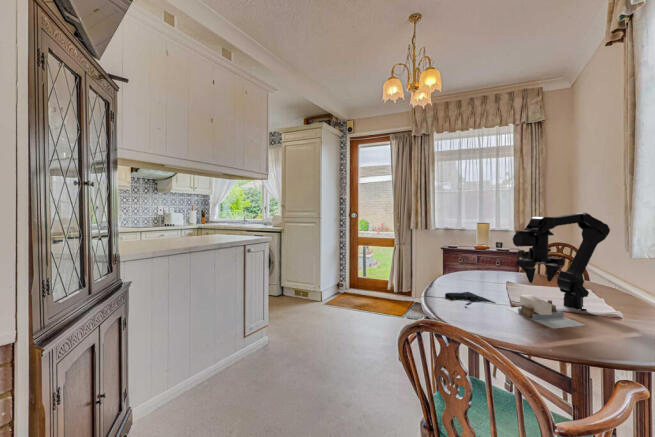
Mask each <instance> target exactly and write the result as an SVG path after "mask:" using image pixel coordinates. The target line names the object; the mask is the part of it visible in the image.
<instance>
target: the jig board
mask: <svg viewBox="0 0 655 437" xmlns="http://www.w3.org/2000/svg"><path fill="white" fill-rule="evenodd" d="M505 309H506V310H508V311H511V312H514V313H516V314H518V315H521V306H514V307H506V308H505ZM564 315H565V314H564V311H562V310H559V309H557V308H556V312H552V315H540V314H538V313H536V314H532V318H528V317H526V316H523V315H521V316H523V317H525V318H527V319H529V320H532V321H535V322H537V323H538V324H541V325H544V326H546V327H548V328H551V329H553V330H554V329H561V328H563V329H564V328H571V327H572V328H573V327H581V326H585V323H581V322H579V321H576V320H574V319H571V318H569V317H565V316H564Z"/></svg>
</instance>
